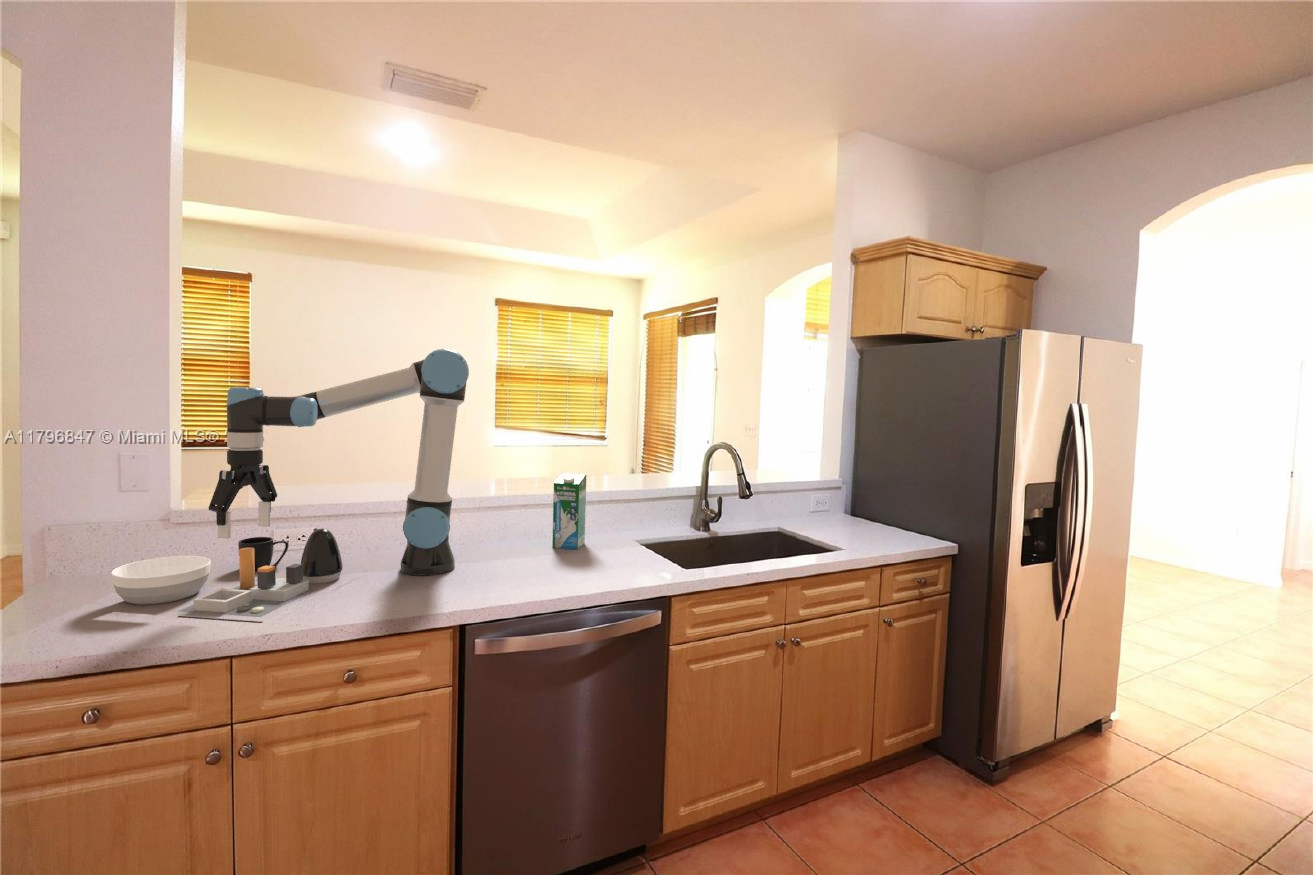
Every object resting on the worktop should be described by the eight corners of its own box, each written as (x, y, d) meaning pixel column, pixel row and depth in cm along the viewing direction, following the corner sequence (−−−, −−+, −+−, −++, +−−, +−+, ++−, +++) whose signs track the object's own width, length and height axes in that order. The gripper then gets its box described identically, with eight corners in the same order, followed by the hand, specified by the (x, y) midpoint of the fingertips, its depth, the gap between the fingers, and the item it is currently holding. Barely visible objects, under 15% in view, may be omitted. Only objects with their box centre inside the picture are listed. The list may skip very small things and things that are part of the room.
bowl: (158, 587, 160) (157, 554, 159) (229, 590, 160) (228, 557, 159) (89, 613, 141) (88, 576, 141) (169, 617, 141) (168, 579, 140)
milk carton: (552, 547, 213) (553, 476, 211) (560, 541, 222) (562, 472, 220) (577, 549, 212) (579, 477, 210) (584, 543, 220) (586, 474, 219)
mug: (284, 575, 173) (284, 542, 172) (234, 578, 169) (234, 544, 168) (291, 567, 181) (291, 535, 180) (244, 570, 177) (243, 537, 176)
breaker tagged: (275, 585, 152) (275, 565, 152) (267, 588, 149) (266, 569, 149) (266, 584, 152) (265, 565, 152) (257, 588, 149) (257, 568, 149)
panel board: (316, 594, 159) (316, 579, 158) (260, 623, 139) (260, 605, 139) (243, 589, 160) (243, 574, 160) (178, 617, 141) (177, 600, 140)
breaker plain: (303, 579, 157) (303, 564, 156) (295, 583, 154) (295, 567, 153) (294, 579, 157) (294, 563, 157) (286, 582, 154) (286, 567, 154)
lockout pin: (257, 586, 159) (257, 547, 158) (248, 590, 156) (247, 551, 155) (246, 585, 159) (245, 547, 159) (236, 589, 156) (236, 550, 155)
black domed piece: (335, 575, 174) (335, 522, 173) (348, 585, 167) (347, 529, 166) (294, 582, 167) (294, 527, 166) (306, 592, 160) (305, 535, 159)
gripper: (266, 444, 168) (266, 521, 169) (189, 452, 143) (190, 542, 144) (292, 445, 167) (292, 522, 168) (220, 454, 142) (220, 544, 144)
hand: (245, 532), depth 156 cm, fingers open, 13 cm apart
